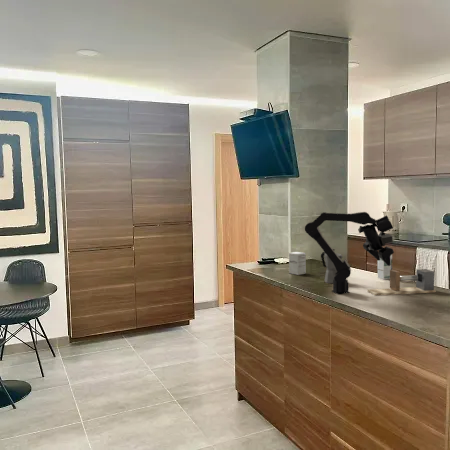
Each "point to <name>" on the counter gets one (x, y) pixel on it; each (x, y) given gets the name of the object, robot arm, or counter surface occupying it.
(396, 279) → the wooden block with shaft
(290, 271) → the supplement box
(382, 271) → the syrup box
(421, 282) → the bearing block
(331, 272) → the coffeepot
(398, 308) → the counter surface
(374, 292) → the birch base plate
